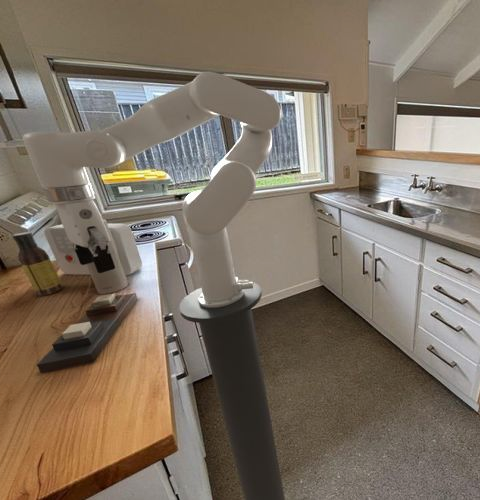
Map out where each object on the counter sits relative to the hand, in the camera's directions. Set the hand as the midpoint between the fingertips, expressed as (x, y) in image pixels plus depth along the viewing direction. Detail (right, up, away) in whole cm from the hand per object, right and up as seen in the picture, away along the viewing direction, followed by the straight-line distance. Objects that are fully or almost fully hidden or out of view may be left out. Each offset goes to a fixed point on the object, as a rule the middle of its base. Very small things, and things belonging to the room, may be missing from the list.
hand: (97, 266), depth 67 cm
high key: (-2, -15, -2) cm, 16 cm away
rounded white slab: (-33, -4, +39) cm, 51 cm away
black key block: (-2, -19, -1) cm, 19 cm away
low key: (-7, -11, +10) cm, 16 cm away
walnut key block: (-7, -14, +11) cm, 19 cm away
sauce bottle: (-38, -10, +25) cm, 47 cm away
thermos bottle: (-19, -9, +27) cm, 34 cm away
